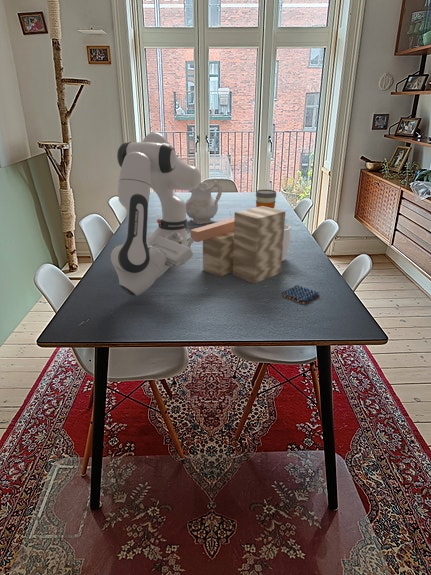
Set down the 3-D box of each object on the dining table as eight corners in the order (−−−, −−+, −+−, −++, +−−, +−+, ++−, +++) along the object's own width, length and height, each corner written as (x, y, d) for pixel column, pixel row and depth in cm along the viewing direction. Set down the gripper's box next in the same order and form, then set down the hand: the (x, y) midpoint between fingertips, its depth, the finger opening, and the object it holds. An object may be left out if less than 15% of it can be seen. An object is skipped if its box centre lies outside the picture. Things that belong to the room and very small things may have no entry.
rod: (197, 242, 153) (197, 232, 151) (190, 239, 156) (190, 229, 154) (245, 227, 171) (245, 218, 170) (238, 225, 174) (238, 216, 172)
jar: (269, 263, 177) (272, 230, 170) (261, 255, 186) (263, 224, 179) (292, 261, 179) (295, 229, 173) (282, 253, 188) (285, 222, 182)
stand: (254, 283, 158) (257, 218, 147) (233, 274, 166) (234, 212, 155) (280, 273, 167) (285, 211, 156) (259, 265, 175) (262, 205, 164)
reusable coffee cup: (276, 218, 245) (277, 193, 239) (255, 218, 245) (256, 193, 239) (273, 213, 256) (275, 189, 250) (254, 213, 257) (255, 189, 250)
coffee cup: (164, 265, 175) (163, 238, 170) (161, 258, 183) (160, 232, 178) (185, 263, 177) (184, 237, 172) (181, 256, 185) (180, 231, 180)
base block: (219, 276, 163) (219, 239, 157) (203, 269, 170) (202, 233, 163) (239, 269, 171) (241, 233, 164) (223, 262, 177) (224, 227, 171)
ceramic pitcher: (223, 220, 245) (223, 177, 237) (220, 226, 227) (220, 181, 219) (188, 219, 247) (187, 177, 239) (182, 225, 229) (181, 180, 220)
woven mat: (295, 288, 155) (296, 283, 154) (320, 296, 148) (320, 291, 147) (279, 296, 148) (280, 292, 147) (304, 306, 142) (305, 301, 141)
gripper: (171, 262, 137) (198, 236, 141) (138, 247, 150) (164, 224, 155) (179, 275, 141) (205, 249, 145) (146, 259, 155) (171, 236, 159)
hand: (183, 236), depth 150 cm, fingers open, 8 cm apart
